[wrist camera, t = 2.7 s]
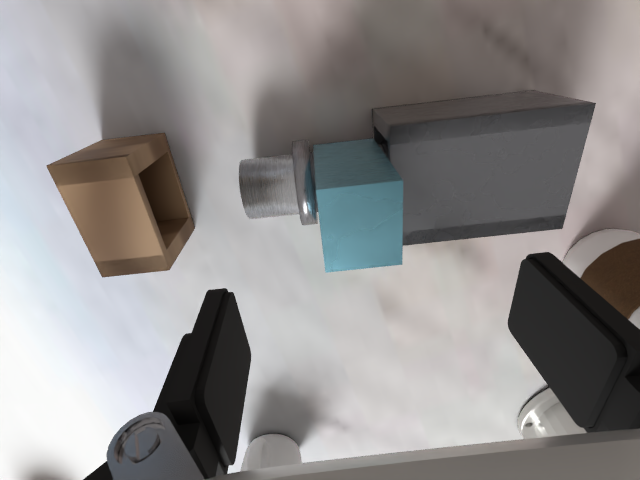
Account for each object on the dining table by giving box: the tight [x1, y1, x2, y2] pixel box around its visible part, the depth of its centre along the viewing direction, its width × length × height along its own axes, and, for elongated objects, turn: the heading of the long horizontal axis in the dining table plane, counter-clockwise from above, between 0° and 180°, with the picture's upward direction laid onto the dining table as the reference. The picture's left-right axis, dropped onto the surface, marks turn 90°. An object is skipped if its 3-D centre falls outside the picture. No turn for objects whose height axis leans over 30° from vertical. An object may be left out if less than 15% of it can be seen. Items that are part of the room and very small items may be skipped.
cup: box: [240, 434, 302, 472], centre depth 39 cm, size 11×8×8 cm
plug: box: [239, 138, 403, 272], centre depth 21 cm, size 19×6×10 cm, turn 96°
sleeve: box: [372, 90, 596, 246], centre depth 23 cm, size 11×8×6 cm
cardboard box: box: [47, 133, 195, 277], centre depth 24 cm, size 4×8×6 cm, turn 6°
